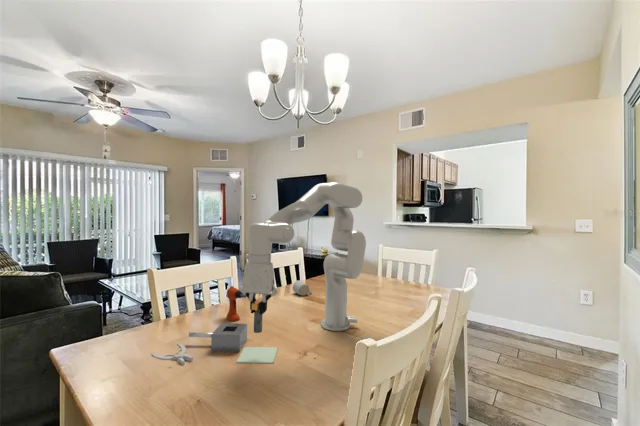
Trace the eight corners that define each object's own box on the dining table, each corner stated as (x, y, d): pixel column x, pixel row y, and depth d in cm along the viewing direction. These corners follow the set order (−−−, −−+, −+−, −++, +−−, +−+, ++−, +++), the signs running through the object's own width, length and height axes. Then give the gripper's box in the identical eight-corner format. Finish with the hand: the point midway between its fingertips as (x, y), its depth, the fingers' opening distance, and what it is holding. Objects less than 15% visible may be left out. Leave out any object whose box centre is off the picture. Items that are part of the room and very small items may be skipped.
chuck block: (246, 339, 111) (247, 323, 111) (239, 352, 101) (239, 335, 101) (195, 338, 111) (195, 322, 111) (182, 350, 101) (183, 333, 101)
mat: (277, 348, 104) (277, 347, 104) (273, 363, 94) (273, 362, 94) (244, 348, 104) (244, 346, 104) (236, 362, 94) (236, 361, 94)
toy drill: (240, 327, 118) (239, 290, 119) (224, 319, 133) (223, 286, 134) (251, 324, 121) (250, 288, 122) (235, 316, 136) (234, 284, 137)
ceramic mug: (299, 297, 165) (299, 283, 165) (292, 293, 171) (292, 280, 171) (314, 294, 171) (314, 281, 171) (306, 291, 178) (307, 279, 178)
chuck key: (249, 335, 95) (250, 303, 95) (258, 326, 102) (258, 297, 102) (257, 335, 95) (258, 304, 95) (265, 327, 102) (266, 298, 102)
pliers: (179, 340, 106) (202, 353, 97) (179, 344, 106) (202, 357, 97) (150, 350, 98) (172, 365, 89) (150, 355, 98) (172, 370, 89)
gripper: (232, 259, 96) (231, 314, 96) (279, 262, 93) (277, 318, 93) (242, 256, 103) (241, 306, 104) (285, 258, 101) (284, 310, 101)
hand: (258, 311), depth 98 cm, fingers closed on chuck key, 2 cm apart
